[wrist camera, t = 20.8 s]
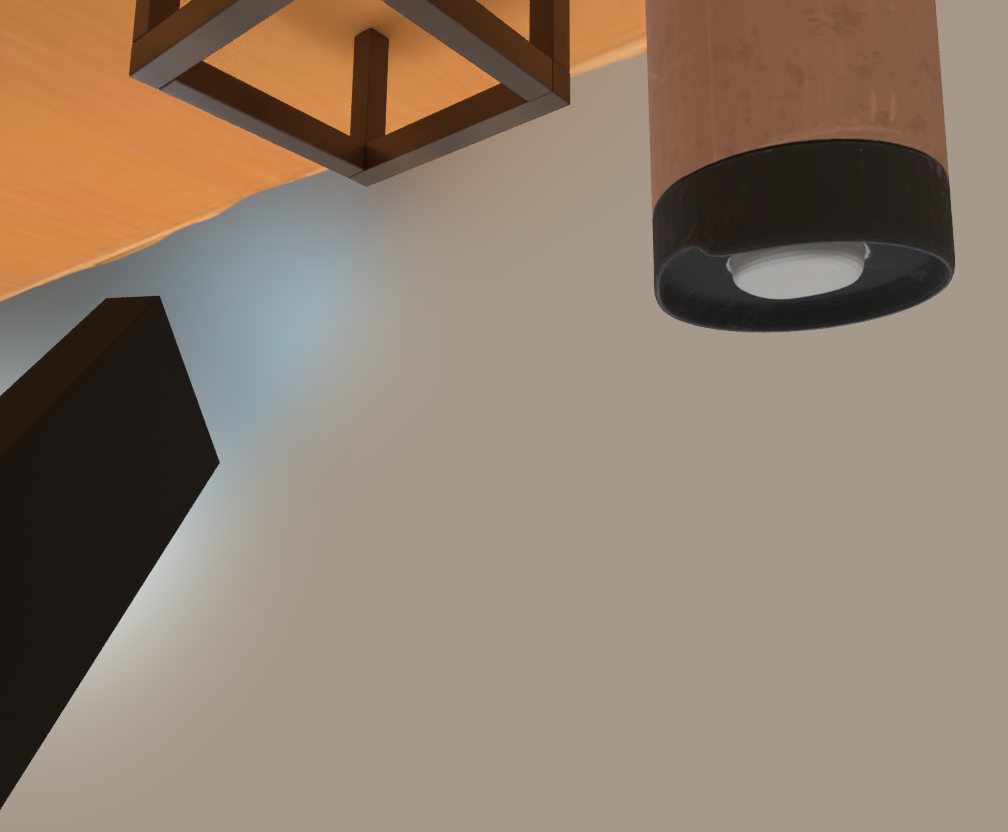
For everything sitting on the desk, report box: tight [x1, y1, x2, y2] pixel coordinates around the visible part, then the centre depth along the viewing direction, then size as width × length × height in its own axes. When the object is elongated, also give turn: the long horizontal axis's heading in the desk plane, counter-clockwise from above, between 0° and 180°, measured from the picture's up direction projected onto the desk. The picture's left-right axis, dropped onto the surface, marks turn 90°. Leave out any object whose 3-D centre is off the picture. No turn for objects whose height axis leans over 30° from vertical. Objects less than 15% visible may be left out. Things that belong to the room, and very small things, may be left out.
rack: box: [129, 0, 570, 187], centre depth 37 cm, size 13×13×8 cm
